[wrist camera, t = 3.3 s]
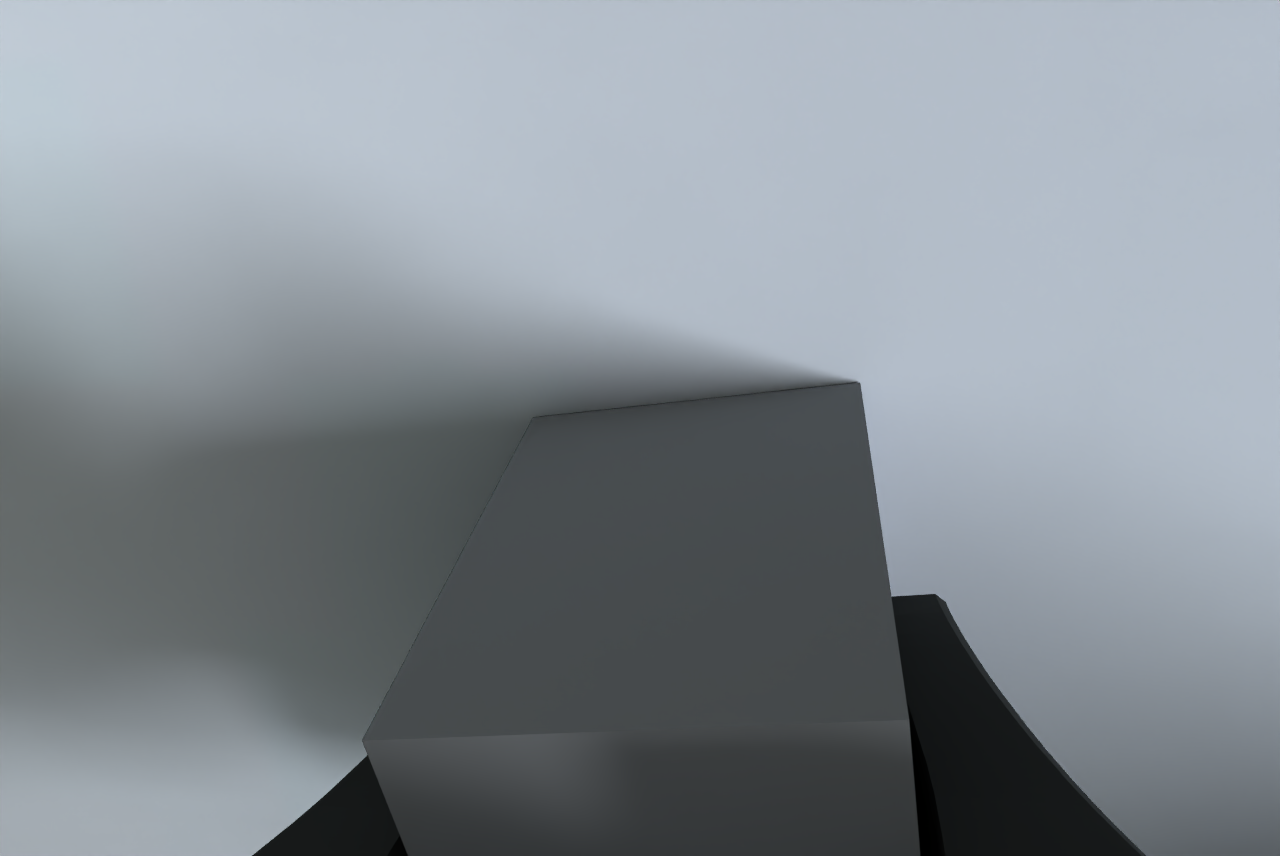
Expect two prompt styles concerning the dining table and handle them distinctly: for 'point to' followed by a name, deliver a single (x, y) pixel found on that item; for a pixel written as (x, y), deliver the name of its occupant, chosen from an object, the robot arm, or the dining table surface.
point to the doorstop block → (663, 647)
